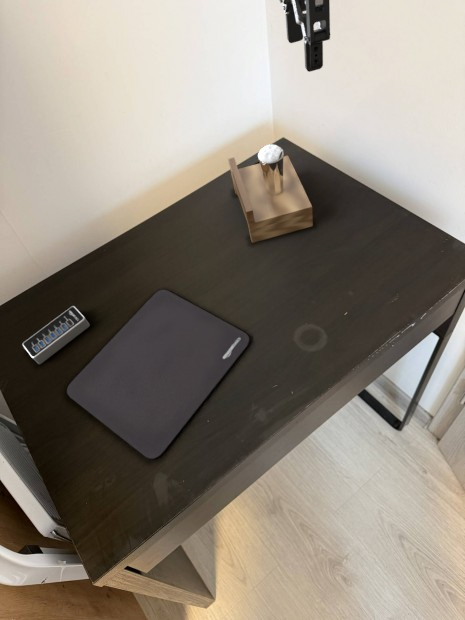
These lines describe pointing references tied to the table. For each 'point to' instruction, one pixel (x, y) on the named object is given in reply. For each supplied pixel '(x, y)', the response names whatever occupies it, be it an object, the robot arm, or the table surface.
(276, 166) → the milkshake
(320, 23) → the robot arm
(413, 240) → the table surface
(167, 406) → the mouse pad
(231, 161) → the shelf
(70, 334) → the multiport hub
